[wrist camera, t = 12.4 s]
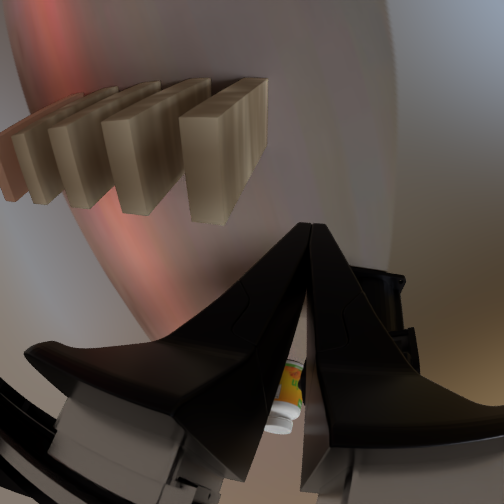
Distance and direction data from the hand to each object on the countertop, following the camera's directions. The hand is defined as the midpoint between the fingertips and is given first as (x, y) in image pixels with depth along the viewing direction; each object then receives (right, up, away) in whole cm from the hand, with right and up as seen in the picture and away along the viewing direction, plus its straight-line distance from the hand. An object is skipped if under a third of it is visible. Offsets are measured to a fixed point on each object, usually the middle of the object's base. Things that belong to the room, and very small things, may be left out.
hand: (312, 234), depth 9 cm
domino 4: (-5, +10, +11) cm, 15 cm away
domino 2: (-13, +11, +12) cm, 21 cm away
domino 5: (-2, +9, +10) cm, 14 cm away
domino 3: (-9, +10, +11) cm, 18 cm away
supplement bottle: (+3, -17, +32) cm, 36 cm away
